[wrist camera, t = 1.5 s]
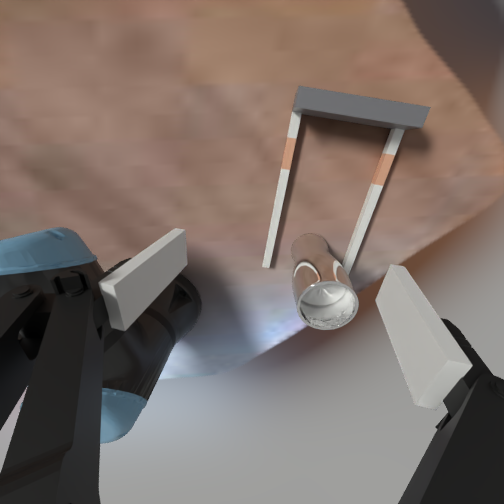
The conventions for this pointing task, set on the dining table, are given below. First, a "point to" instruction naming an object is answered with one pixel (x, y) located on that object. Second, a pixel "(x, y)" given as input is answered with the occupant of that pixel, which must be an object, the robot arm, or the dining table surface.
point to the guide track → (353, 111)
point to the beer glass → (321, 285)
